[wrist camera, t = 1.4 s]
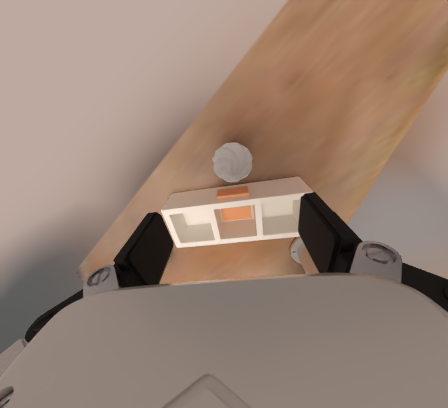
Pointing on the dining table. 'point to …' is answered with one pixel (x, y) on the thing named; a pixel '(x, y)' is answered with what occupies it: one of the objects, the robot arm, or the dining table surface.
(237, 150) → the ice cream cone
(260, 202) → the compartment tray
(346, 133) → the dining table surface
